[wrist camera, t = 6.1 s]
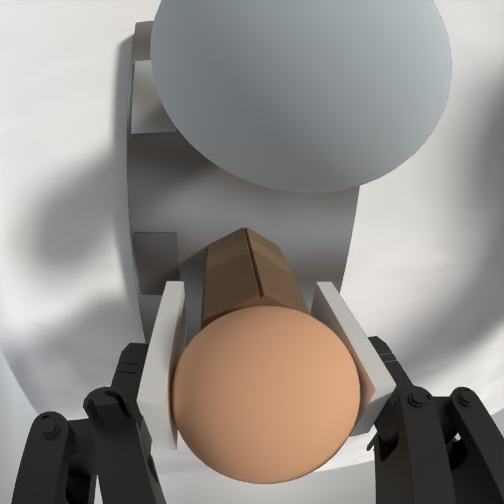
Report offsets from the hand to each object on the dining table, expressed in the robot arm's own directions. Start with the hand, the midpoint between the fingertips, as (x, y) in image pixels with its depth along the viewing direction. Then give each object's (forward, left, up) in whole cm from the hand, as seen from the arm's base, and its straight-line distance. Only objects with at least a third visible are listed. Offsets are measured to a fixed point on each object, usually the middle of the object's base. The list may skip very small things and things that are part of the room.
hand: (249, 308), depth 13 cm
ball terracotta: (0, 0, +2) cm, 2 cm away
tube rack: (0, 0, -5) cm, 5 cm away
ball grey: (-10, 0, +2) cm, 10 cm away
